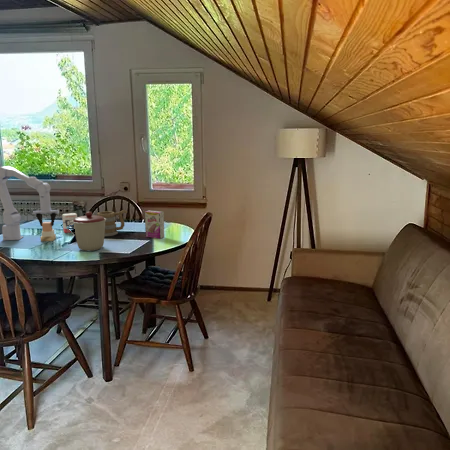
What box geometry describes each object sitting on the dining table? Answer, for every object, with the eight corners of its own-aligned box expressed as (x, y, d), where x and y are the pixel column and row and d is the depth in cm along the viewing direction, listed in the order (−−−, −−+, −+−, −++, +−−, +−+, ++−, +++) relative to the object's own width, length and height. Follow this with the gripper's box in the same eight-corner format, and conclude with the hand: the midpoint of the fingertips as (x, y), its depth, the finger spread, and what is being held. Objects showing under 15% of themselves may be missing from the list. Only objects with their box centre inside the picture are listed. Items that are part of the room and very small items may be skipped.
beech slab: (40, 241, 253) (40, 237, 252) (44, 239, 260) (43, 234, 259) (53, 241, 254) (52, 236, 253) (55, 238, 261) (55, 234, 260)
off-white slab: (42, 236, 253) (41, 231, 252) (44, 234, 259) (43, 229, 258) (52, 236, 254) (52, 231, 253) (54, 234, 260) (54, 229, 259)
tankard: (98, 237, 263) (96, 213, 260) (95, 232, 275) (94, 210, 272) (130, 234, 271) (129, 211, 268) (126, 230, 283) (125, 208, 280)
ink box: (65, 233, 274) (63, 215, 272) (63, 231, 278) (61, 214, 276) (78, 231, 279) (77, 213, 276) (76, 230, 283) (75, 212, 280)
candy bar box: (145, 237, 262) (144, 211, 259) (149, 235, 267) (148, 210, 264) (160, 239, 258) (159, 212, 254) (164, 237, 262) (164, 211, 259)
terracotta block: (42, 231, 253) (41, 223, 252) (44, 229, 258) (43, 221, 256) (50, 231, 254) (49, 223, 253) (52, 229, 258) (51, 221, 257)
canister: (108, 251, 230) (106, 213, 226) (73, 254, 225) (70, 215, 221) (107, 243, 247) (105, 208, 243) (74, 246, 242) (72, 209, 238)
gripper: (30, 204, 247) (32, 227, 250) (56, 204, 249) (58, 226, 252) (33, 202, 254) (36, 225, 257) (59, 202, 256) (60, 224, 259)
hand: (47, 225), depth 255 cm, fingers open, 6 cm apart
